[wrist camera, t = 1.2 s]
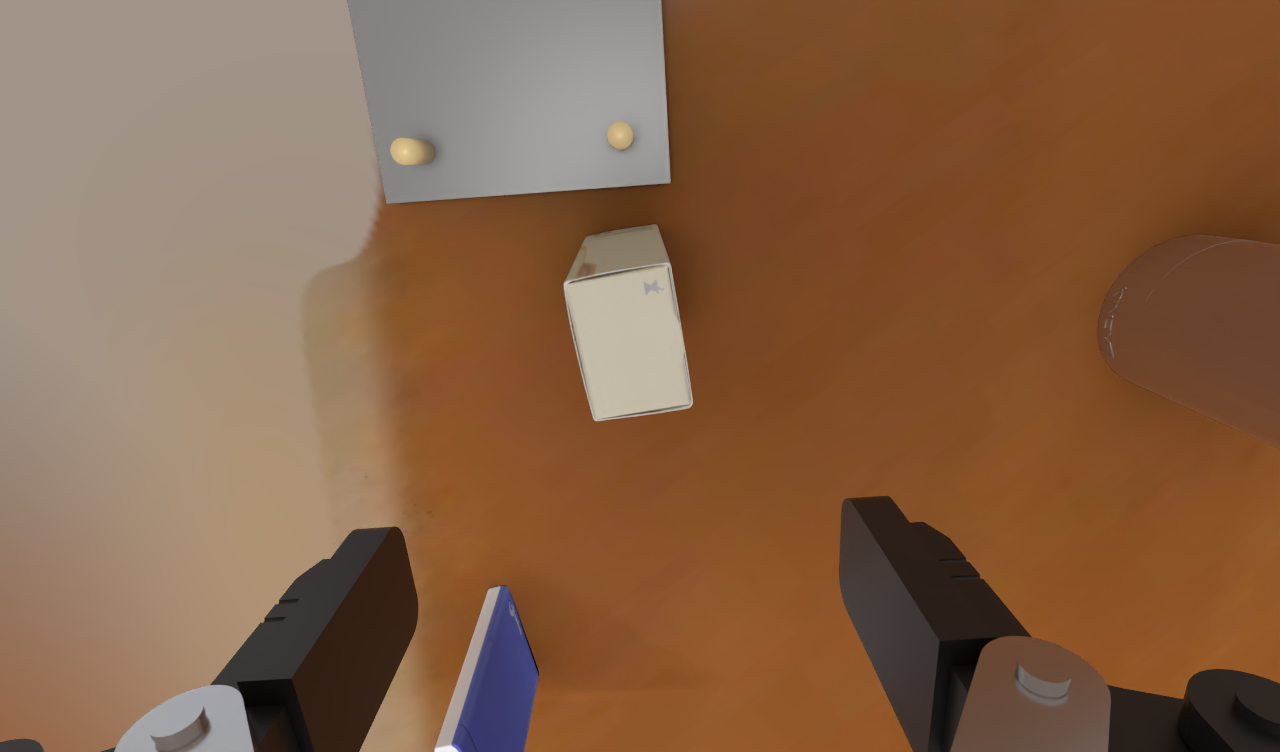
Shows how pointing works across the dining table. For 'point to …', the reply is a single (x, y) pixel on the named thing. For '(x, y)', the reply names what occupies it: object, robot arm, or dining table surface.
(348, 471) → the dining table surface
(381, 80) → the standoff plate
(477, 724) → the hard drive
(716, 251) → the dining table surface
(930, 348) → the dining table surface
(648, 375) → the skincare box
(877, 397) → the dining table surface
